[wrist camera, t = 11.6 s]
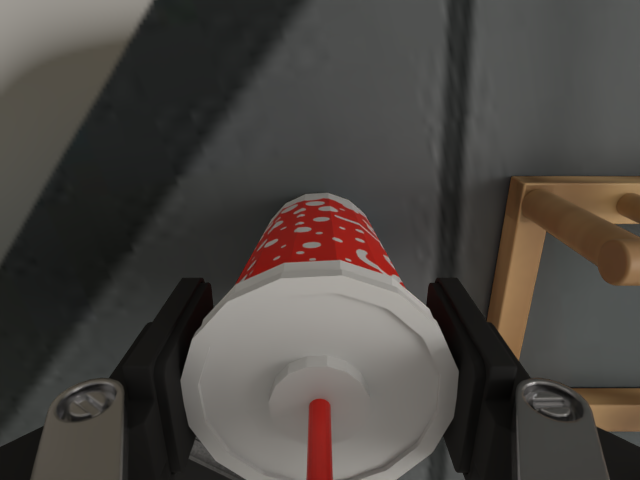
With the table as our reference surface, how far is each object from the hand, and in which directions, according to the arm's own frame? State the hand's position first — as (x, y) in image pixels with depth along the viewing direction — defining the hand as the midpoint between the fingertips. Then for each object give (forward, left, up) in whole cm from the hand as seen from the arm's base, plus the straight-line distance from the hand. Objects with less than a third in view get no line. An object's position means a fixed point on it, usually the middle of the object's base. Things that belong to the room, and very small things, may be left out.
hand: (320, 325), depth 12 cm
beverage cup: (0, 0, -6) cm, 6 cm away
